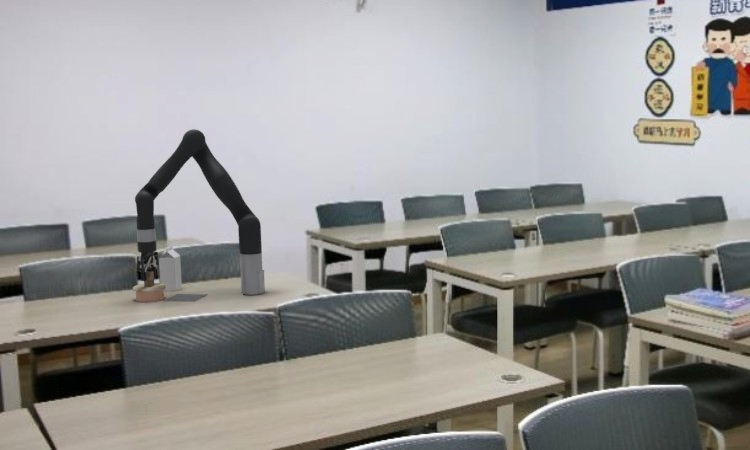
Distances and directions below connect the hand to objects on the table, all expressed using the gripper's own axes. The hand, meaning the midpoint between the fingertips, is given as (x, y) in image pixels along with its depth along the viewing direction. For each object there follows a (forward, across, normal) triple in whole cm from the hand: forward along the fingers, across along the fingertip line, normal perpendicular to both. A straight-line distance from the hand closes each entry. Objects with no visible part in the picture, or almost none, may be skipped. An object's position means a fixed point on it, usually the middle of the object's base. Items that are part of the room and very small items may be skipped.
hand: (148, 278), depth 340 cm
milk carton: (+9, +20, 0) cm, 22 cm away
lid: (+4, 0, 0) cm, 4 cm away
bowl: (+9, 0, 0) cm, 9 cm away
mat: (+9, +4, -14) cm, 17 cm away
